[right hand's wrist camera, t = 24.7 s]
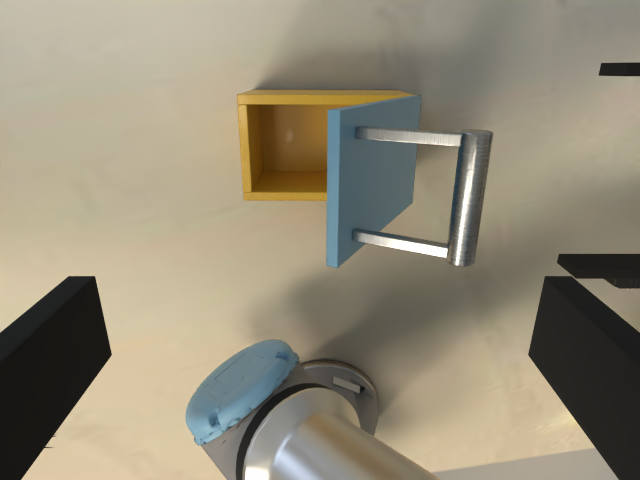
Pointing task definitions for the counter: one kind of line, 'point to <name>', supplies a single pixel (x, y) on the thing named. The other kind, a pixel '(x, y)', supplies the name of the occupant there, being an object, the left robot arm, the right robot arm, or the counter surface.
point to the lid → (396, 179)
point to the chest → (291, 139)
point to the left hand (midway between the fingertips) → (587, 175)
